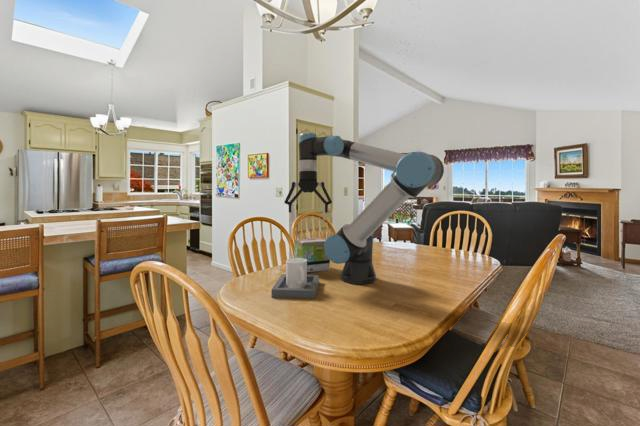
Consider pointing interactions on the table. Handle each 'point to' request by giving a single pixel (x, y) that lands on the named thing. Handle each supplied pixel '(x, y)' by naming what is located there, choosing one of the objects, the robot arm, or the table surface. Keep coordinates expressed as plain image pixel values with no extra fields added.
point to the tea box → (312, 253)
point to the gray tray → (306, 292)
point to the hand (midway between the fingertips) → (308, 220)
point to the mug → (296, 272)
